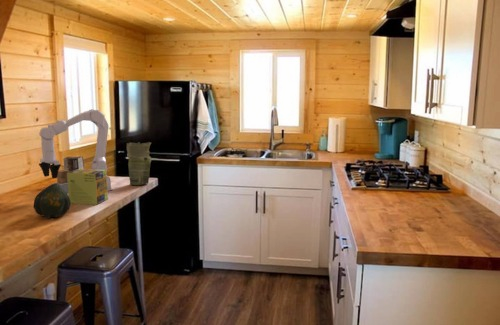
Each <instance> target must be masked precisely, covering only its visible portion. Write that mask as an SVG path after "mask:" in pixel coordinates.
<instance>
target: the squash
mask: <svg viewBox="0 0 500 325" xmlns="http://www.w3.org/2000/svg"><path fill="white" fill-rule="evenodd" d="M71 204H72V203H71V202H70V198H69V194H68V193H66V192H65V191H64V190H63V189H62V188H61V187H60V185H59V184H57V183H56V182H54V183H51V184H49V185H48V186H46V187H45V188H43V189H42V190H41V191H40V192H38V193H37V194H36V196H35V198H34V200H33V209H34V210H35V213H36V214H37V215H39V216H42V217H43V218H44V219H49V220H50V219H51V218H55V219H56V218H58V217H60V216H62V215H65V214H66V213H67V212H68V211H69V210H70V208H71Z"/></svg>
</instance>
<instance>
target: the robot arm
mask: <svg viewBox="0 0 500 325" xmlns="http://www.w3.org/2000/svg"><path fill="white" fill-rule="evenodd" d="M84 121H85V122H86V121H89V122H91V123H93V124H94V125H95V126H96V127H97V136H96V145H95V153H94V155H95V156H94V158H93V160H92V163H91V165H90V169H100V170H106V176H107V191H108V192H111V191H113V188H112V185H111V184H112V183H111V182H112V180H111V177H110V176H108V175H107V172H108V167H107V160H106V153H107V152H106V151H107V142H108V134H109V124H108V121H107V119H106V114H104V113H103V112H102V111H101V110H99V109H98V110H97V109H94V108H93V109H89V110H86V111H83V112H81V113H79V114H76V115H75V116H73V117H71V118H68V119H66V120H63V119H60V120H59V119H57V120H56V122H54V123H52V124H48V125H47V126H44V127H42V128H41V129H40V131H39V136H40V140H41V153H42V157H41V158H39V161H40V162H39V163H38V166H39V167H40V169H41V171H42V173H43V176H44V177H50V174H51V178H52V179H57V175H58V171H60V167H61V166H62V165H61V163H60V160H57V159H56V151H55V141H54V138H55V136H57V135H60V134H62V133H64V132H67V131H68V129H69V127H71V126H73V125H76V124H78V123H80V122H84Z"/></svg>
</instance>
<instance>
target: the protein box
mask: <svg viewBox="0 0 500 325" xmlns="http://www.w3.org/2000/svg"><path fill="white" fill-rule="evenodd" d="M106 174H107V172H106V170H100V169H91V168H84V169H77V170H74V171H71V172H67V181H68V193H67V194H68V196H69V198H70V202H71V204H76V205H77V204H78V205H95V206H99V205H100V204H101V203H104V202H105V201H107V200H109V195H108V194H109V193H108V192H109V191H107V176H108V175H107V176H106Z"/></svg>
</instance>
